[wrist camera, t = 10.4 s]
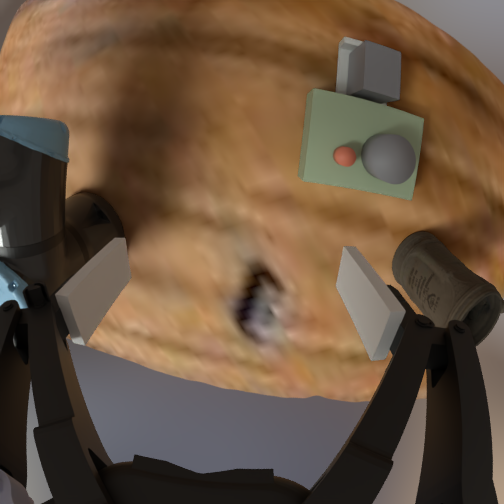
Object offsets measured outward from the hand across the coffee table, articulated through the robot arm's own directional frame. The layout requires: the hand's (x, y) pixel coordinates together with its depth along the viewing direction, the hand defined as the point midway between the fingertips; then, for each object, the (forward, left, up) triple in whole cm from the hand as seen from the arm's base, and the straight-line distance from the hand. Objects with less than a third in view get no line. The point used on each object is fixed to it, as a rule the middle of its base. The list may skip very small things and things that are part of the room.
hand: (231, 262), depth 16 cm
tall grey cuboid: (+15, +19, -24) cm, 34 cm away
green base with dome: (+15, +13, -24) cm, 31 cm away
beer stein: (+33, -8, -25) cm, 42 cm away
